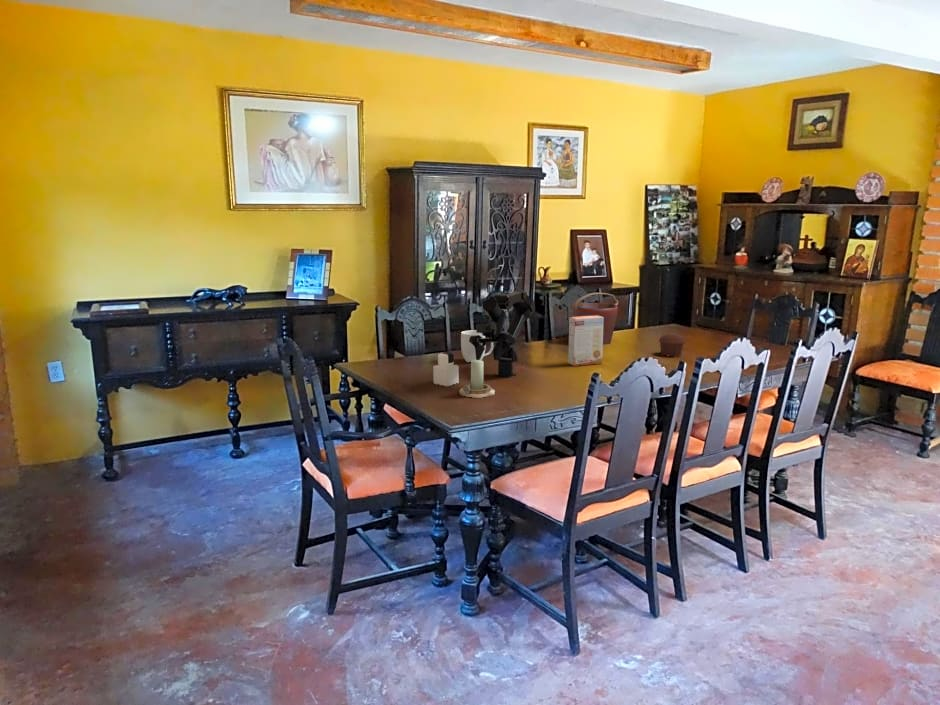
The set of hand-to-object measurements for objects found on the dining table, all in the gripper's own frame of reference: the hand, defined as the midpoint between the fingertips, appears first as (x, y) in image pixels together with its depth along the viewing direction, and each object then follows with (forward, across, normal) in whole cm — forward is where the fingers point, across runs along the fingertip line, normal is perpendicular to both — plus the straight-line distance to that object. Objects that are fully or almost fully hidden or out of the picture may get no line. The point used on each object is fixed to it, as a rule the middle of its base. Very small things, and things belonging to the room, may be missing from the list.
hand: (486, 360), depth 259 cm
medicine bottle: (+10, -17, -1) cm, 19 cm away
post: (+14, +1, -2) cm, 14 cm away
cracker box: (-23, +7, +54) cm, 59 cm away
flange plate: (+14, +1, -2) cm, 14 cm away
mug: (-14, -32, +28) cm, 45 cm away
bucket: (-52, -13, +90) cm, 105 cm away
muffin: (-44, +28, +91) cm, 105 cm away
